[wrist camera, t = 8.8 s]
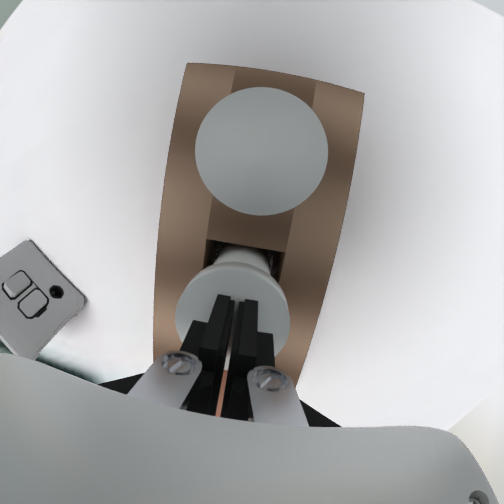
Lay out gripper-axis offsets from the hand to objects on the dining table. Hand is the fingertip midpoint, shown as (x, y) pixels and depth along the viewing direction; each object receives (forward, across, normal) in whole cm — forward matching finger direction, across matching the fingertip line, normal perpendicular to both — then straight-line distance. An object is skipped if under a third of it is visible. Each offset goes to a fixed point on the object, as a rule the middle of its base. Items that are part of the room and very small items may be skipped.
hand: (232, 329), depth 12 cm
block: (+11, 0, 0) cm, 11 cm away
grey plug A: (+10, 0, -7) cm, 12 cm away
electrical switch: (+11, +19, +7) cm, 23 cm away
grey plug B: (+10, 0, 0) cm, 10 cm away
